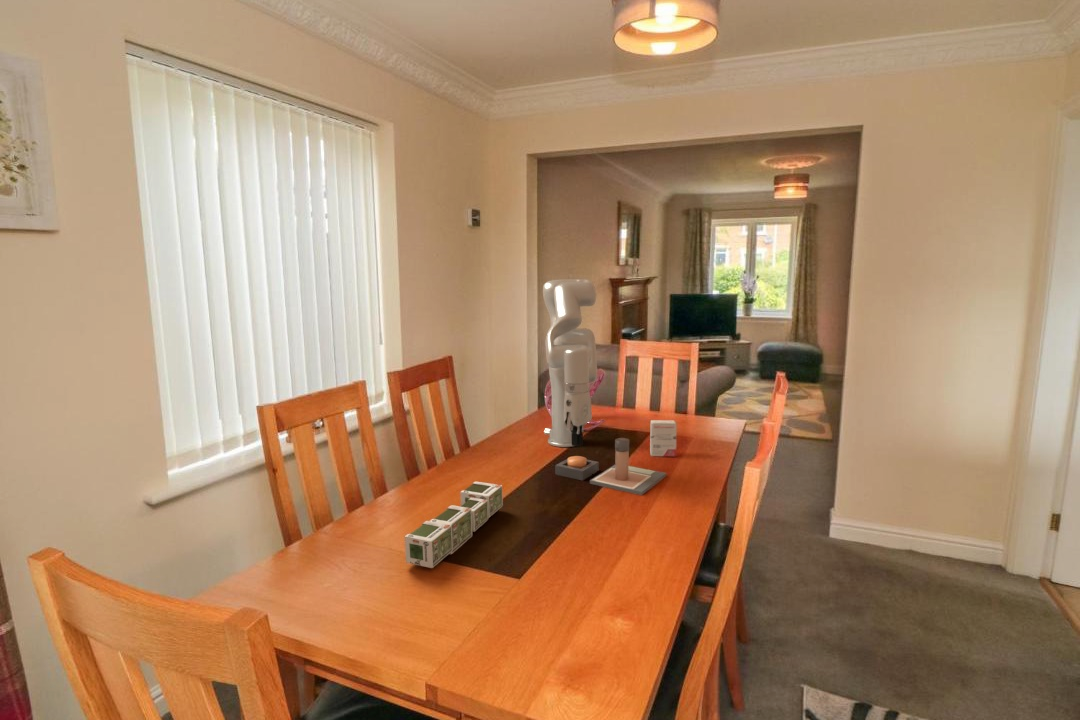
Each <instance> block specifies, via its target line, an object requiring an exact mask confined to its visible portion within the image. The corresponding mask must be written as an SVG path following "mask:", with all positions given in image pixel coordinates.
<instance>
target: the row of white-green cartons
mask: <svg viewBox="0 0 1080 720" xmlns="http://www.w3.org/2000/svg"><path fill="white" fill-rule="evenodd" d="M459 495H460V506H458V505H453V504H452V505H451V504H450V506H448V507H447V509H445V510H444V511H443V512H441V513H440V514H439V515H437V516H435V518H432V519H430V520H425V521H424V522H422V523H421V525H420V526H419V527H417V528H416V529H415V530H414V531H412V532H411V533H407V534H406V535H405V536H404V548H405V550H404V551H405V563H406V564H411V565H416V566H420V567H426V568H429V569H433V568H434V567H435V566H437V565H438V564H439V563H440V562H441V561H443V560H444V559H445V558H446V557H447V556H449V555H452V554H454V553H455V552H456V551H457V550H458V549H460V548H461V547H462V546H463V545H464V544H465V543H466V542H467V541H468V540H469V539H471V538H472V537H473V532H474V533H475V532H476V531H477V530H478V529H479V528H480V527H482V526H483V525H484V524H485V523H486V522H487V521H488V520H489V518H490V517H491V516H493V515H494V514H495V513H496V512H498V510H499V509H501V508H502V507H503V506H504V503H503V502H504V501H503V500H504V498H503V485H502V484H496V483H489V482H488V483H487V482H481V481H474V482H472V484H471V485H469V486H468V487H467V488H465V489H463V490H461V491H460V493H459Z"/></svg>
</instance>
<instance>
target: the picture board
mask: <svg viewBox="0 0 1080 720" xmlns="http://www.w3.org/2000/svg"><path fill="white" fill-rule="evenodd" d="M666 477H667V472H664V471H658V470H652V469H649V468H648V469H647V468H642V467H638V466H632V465H629V477H628V480H624V481H621V480H617V479H615V464H613V465H612V466H610V467H609V468H607V469H606V470H603V472H601V473H599V474H597V475H596V476H594V477H593V478H590V480H589V484H590V485H594V486H599V487H604V488H607V489H612V490H617V491H622V492H624V493H625V492H626V493H629V492H630V494H634V495H638V496H643V495H644V494H646V493H647V492H648V491H649V490H651V489H652V488H653V487H655V486H656V485H657V484H658V483H660V482H661V481H662V480H663V479H664V478H666Z"/></svg>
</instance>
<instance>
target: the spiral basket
mask: <svg viewBox="0 0 1080 720" xmlns="http://www.w3.org/2000/svg"><path fill="white" fill-rule="evenodd" d="M605 376H606V371H605V370H603V369H602V368H599V369H598V368H597V378H596V380H595V381H594V382H593V383H589V393H590V398H591V399H592V398H593V397H594V395H595V394H596V392H597V391H598V389H599V387H601V385H602V383H603V381H604V379H605ZM544 403H545V404H544V405H545V407H546V409H547V413H549V415H550V417H551V418H552V392H551V381H550V379H549V380H548V381H547V383H546V385H545V388H544ZM605 421H606V420H605V419H601V420H596V421H595V420H591V421H590V422H588V424H587V425H592V426H589V427H584V432H585V431H589V430H592V429H595V428H598V427H599V426H601V425H602V424H603V423H604V422H605Z"/></svg>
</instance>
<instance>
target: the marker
mask: <svg viewBox="0 0 1080 720" xmlns="http://www.w3.org/2000/svg"><path fill="white" fill-rule="evenodd" d="M614 450H615V452H614V454H615V455H614V456H615V457H614V458H615V459H614V461H615V463H614V465H615V479H617V480H621V481H624V480H628V477H629V466H630V465H629V464H630V461H629V459H630V458H629V455H630V452H629V451H630V439H629V438H625V437H617V438H615V439H614Z"/></svg>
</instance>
